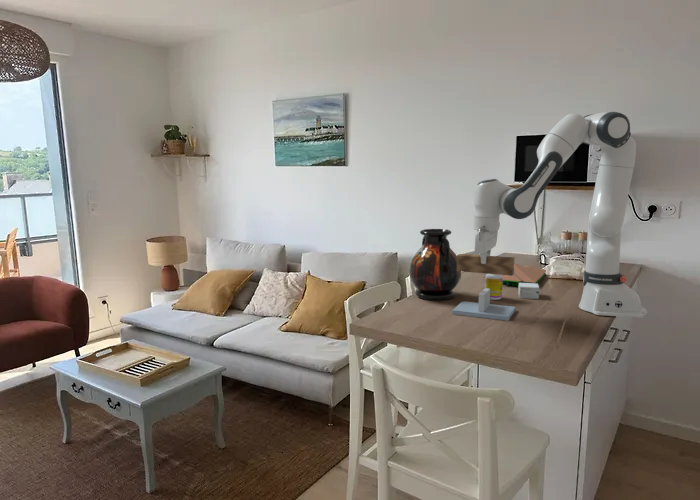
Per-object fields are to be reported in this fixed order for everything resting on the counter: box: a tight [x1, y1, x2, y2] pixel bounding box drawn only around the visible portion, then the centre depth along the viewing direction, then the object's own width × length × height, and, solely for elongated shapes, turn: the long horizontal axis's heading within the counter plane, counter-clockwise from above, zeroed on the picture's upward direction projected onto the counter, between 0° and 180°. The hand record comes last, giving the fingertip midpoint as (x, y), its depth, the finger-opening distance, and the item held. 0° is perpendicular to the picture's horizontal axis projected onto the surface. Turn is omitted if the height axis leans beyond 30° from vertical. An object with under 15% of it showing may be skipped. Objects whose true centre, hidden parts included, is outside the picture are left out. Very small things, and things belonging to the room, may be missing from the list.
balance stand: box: [452, 288, 516, 321], centre depth 181 cm, size 20×14×8 cm
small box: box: [517, 282, 540, 300], centre depth 203 cm, size 8×8×5 cm
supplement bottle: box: [484, 274, 503, 301], centre depth 201 cm, size 7×7×13 cm
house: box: [483, 263, 547, 288], centre depth 233 cm, size 23×33×8 cm
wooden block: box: [456, 253, 516, 276], centre depth 179 cm, size 20×4×6 cm, turn 62°
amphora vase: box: [409, 228, 462, 301], centre depth 205 cm, size 22×22×28 cm
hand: (485, 262), depth 179 cm, fingers closed on wooden block, 3 cm apart
